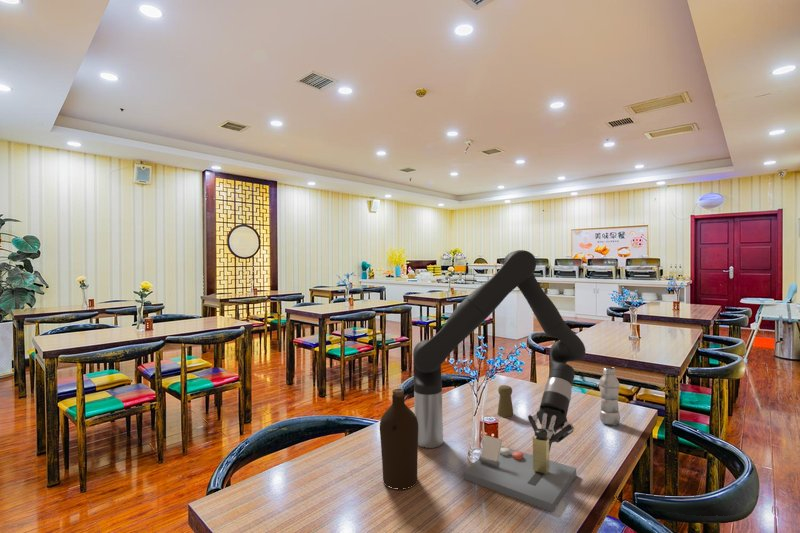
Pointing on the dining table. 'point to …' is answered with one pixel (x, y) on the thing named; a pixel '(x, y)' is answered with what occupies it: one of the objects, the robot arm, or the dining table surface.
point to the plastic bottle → (609, 397)
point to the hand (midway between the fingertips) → (543, 453)
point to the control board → (523, 478)
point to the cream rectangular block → (491, 451)
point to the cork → (505, 401)
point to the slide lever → (541, 451)
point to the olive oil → (399, 443)
